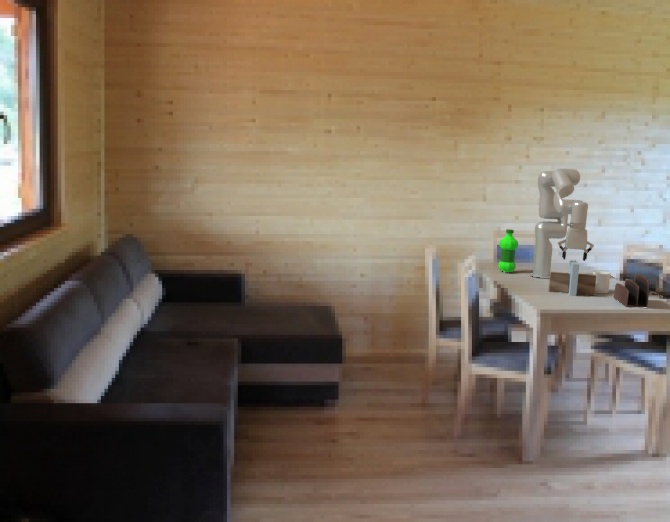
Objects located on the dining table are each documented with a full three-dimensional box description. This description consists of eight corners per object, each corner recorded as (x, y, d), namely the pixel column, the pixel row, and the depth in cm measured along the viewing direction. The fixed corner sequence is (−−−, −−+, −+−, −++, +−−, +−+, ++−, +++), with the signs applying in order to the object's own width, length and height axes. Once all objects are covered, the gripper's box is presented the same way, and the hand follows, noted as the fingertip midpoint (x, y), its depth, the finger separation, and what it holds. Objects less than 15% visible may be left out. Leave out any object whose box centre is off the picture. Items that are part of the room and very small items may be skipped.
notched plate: (566, 290, 365) (569, 259, 362) (572, 290, 365) (575, 260, 362) (569, 295, 352) (573, 264, 349) (576, 296, 351) (579, 264, 348)
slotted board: (548, 290, 361) (550, 271, 360) (593, 294, 358) (595, 274, 356) (549, 291, 359) (551, 272, 357) (594, 295, 355) (596, 275, 353)
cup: (596, 293, 360) (598, 273, 358) (585, 288, 371) (587, 269, 370) (611, 293, 361) (613, 274, 359) (600, 288, 372) (602, 269, 371)
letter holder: (633, 299, 349) (637, 271, 347) (647, 308, 330) (651, 279, 327) (613, 298, 350) (616, 270, 347) (625, 307, 330) (629, 278, 328)
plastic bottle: (494, 272, 409) (498, 229, 405) (502, 270, 417) (505, 228, 413) (510, 274, 403) (514, 231, 399) (518, 272, 411) (521, 230, 407)
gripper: (560, 226, 350) (557, 259, 354) (597, 228, 347) (593, 262, 351) (558, 224, 358) (555, 257, 361) (594, 226, 355) (590, 259, 358)
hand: (574, 259), depth 356 cm, fingers open, 9 cm apart
